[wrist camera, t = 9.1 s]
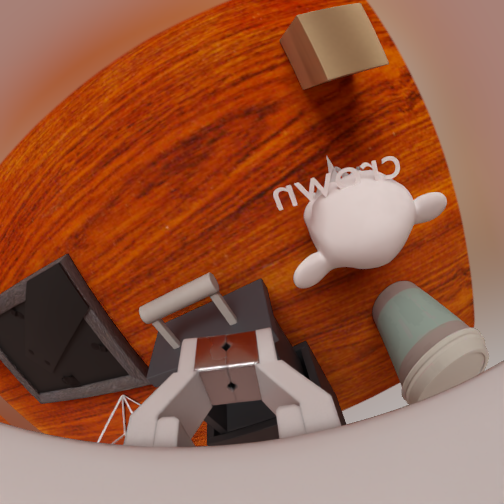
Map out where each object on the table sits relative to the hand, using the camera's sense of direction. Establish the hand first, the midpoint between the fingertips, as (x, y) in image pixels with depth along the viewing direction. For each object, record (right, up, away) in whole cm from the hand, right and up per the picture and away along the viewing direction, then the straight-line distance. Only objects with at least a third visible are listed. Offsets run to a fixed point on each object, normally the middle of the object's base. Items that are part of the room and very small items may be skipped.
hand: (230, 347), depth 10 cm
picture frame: (-23, -7, +18) cm, 30 cm away
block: (+6, +18, +9) cm, 21 cm away
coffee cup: (+16, -2, +19) cm, 25 cm away
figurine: (+8, +8, +14) cm, 18 cm away
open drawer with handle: (-2, -4, +17) cm, 17 cm away
